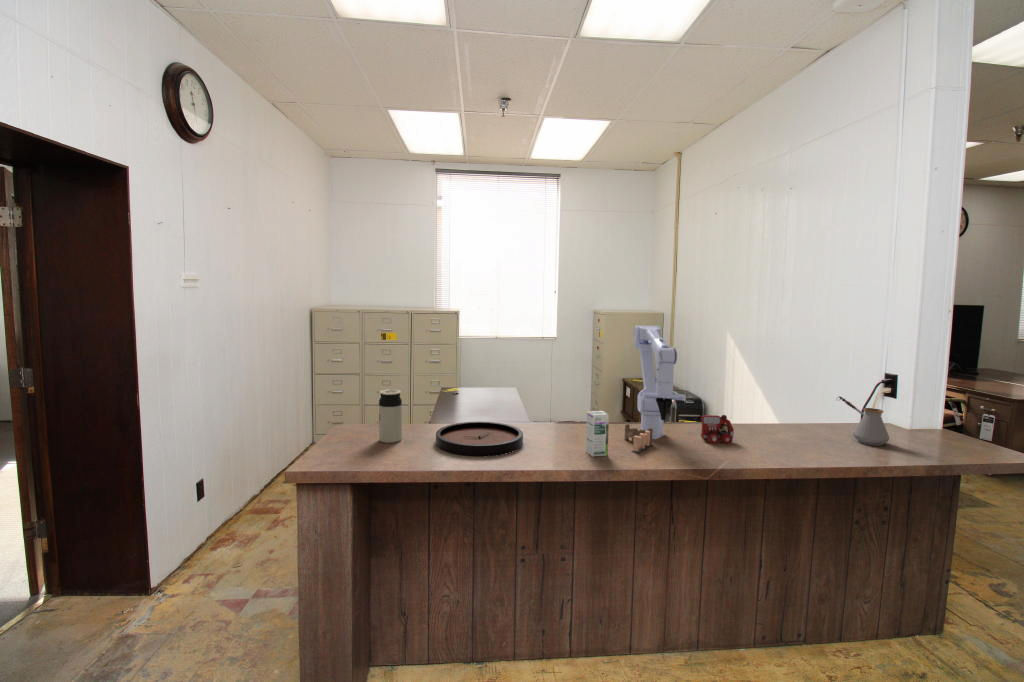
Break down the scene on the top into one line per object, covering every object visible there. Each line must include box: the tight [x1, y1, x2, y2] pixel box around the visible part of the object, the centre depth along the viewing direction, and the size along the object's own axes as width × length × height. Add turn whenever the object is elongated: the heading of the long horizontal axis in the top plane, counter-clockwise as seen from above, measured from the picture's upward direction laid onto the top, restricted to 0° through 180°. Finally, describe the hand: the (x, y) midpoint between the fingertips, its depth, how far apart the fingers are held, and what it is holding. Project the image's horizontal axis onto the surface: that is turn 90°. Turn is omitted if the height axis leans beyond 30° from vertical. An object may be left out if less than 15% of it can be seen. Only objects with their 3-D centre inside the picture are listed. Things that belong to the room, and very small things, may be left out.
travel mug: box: [378, 389, 403, 444], centre depth 184 cm, size 8×8×18 cm
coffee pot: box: [836, 396, 890, 447], centre depth 199 cm, size 21×12×15 cm, turn 14°
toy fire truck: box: [700, 414, 735, 445], centre depth 191 cm, size 7×12×10 cm, turn 94°
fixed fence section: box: [624, 423, 653, 446], centre depth 187 cm, size 2×11×6 cm, turn 51°
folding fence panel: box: [632, 431, 651, 452], centre depth 179 cm, size 10×1×5 cm, turn 140°
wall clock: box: [435, 421, 524, 458], centre depth 184 cm, size 31×4×31 cm
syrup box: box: [585, 410, 610, 458], centre depth 174 cm, size 6×6×14 cm
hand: (663, 419), depth 182 cm, fingers closed
